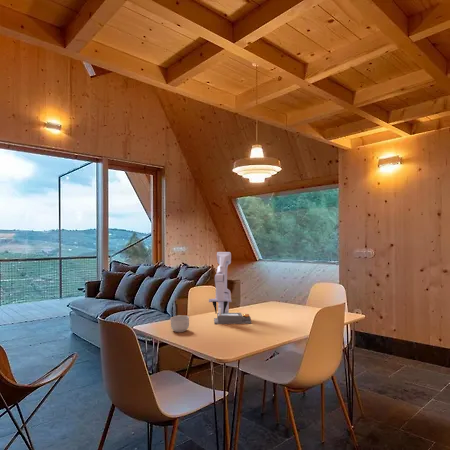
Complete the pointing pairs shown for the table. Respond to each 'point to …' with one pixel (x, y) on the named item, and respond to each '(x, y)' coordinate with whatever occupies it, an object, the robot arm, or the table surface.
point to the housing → (232, 319)
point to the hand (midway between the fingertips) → (219, 313)
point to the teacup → (179, 323)
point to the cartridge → (225, 314)
